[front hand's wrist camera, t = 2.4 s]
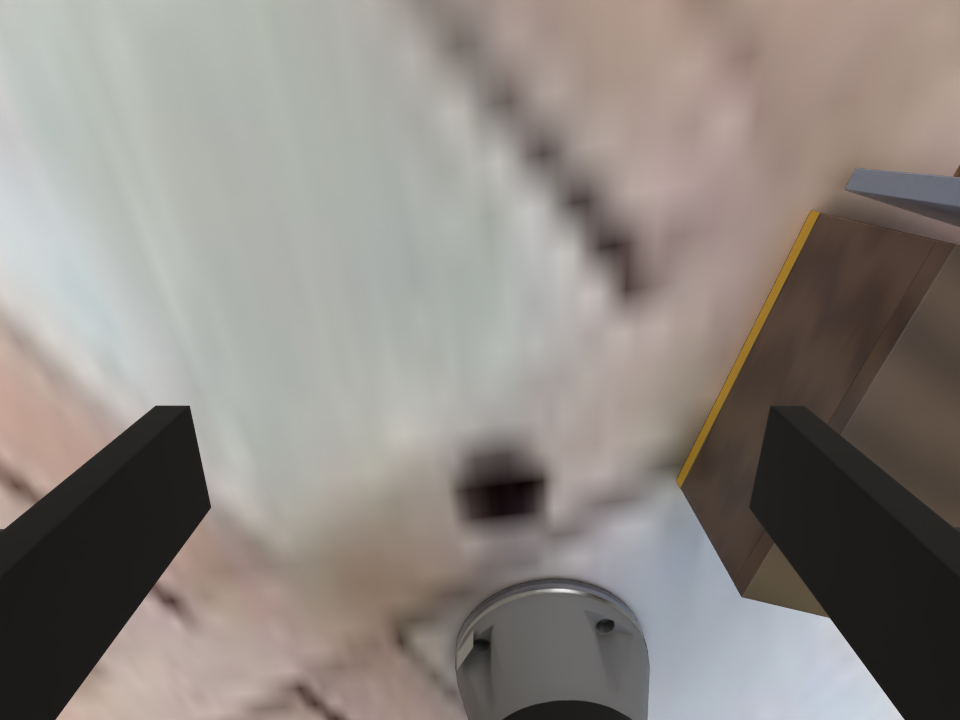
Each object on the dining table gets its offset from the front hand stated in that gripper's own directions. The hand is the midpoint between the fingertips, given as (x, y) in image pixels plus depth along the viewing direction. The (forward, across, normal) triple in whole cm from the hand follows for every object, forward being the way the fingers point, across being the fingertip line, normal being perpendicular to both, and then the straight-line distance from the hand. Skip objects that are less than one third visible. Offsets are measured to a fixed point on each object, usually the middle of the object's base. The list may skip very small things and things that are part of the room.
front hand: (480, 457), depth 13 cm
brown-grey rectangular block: (+22, -22, +8) cm, 32 cm away
